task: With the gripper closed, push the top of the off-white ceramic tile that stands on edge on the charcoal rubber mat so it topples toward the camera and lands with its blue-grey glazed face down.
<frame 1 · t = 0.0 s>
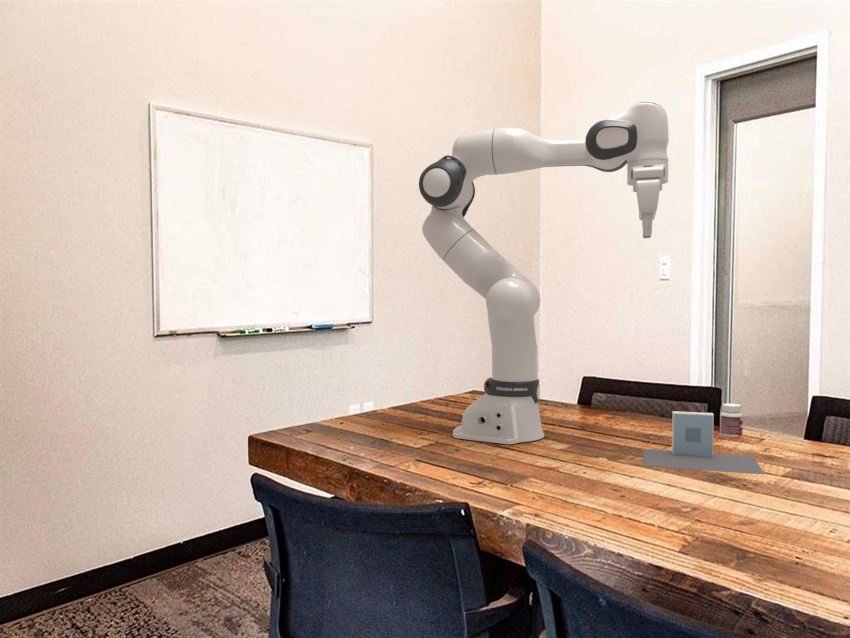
hand: (647, 236, 148), 48 cm above the table, fingers open, 8 cm apart
pill bottle: (731, 440, 154), on the table
mat: (699, 463, 134), on the table
tile: (692, 454, 138), point 1 cm above the table, touching mat
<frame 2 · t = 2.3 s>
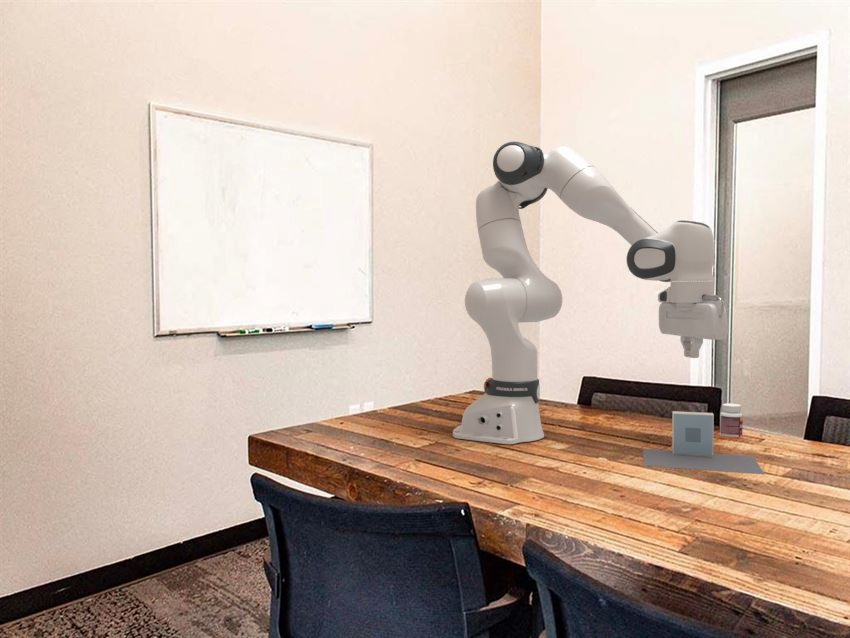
hand: (691, 357, 142), 21 cm above the table, fingers closed
nothing on the table moved.
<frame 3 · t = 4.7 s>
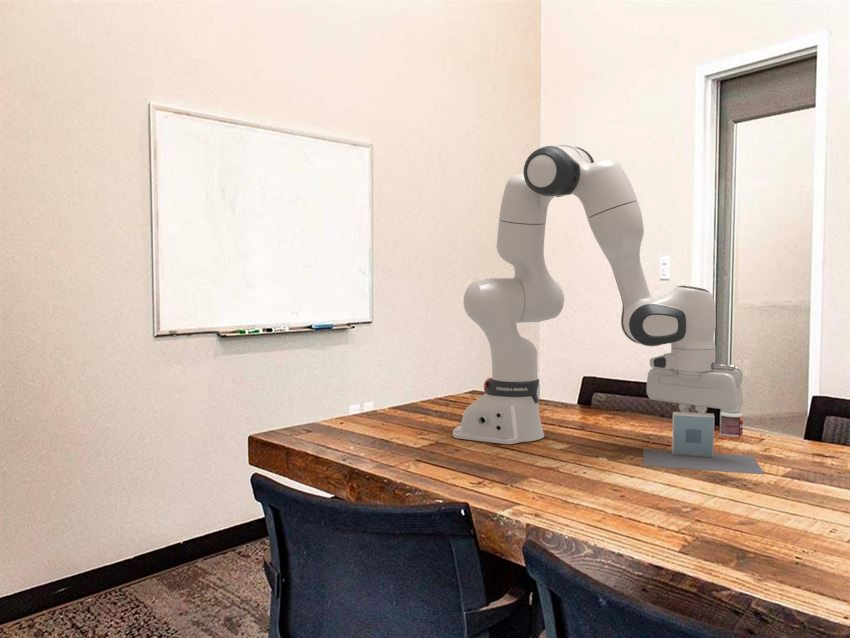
hand: (692, 425, 139), 7 cm above the table, fingers closed
tile: (692, 454, 138), point 1 cm above the table, tilted 9°, touching mat
everything else where it was.
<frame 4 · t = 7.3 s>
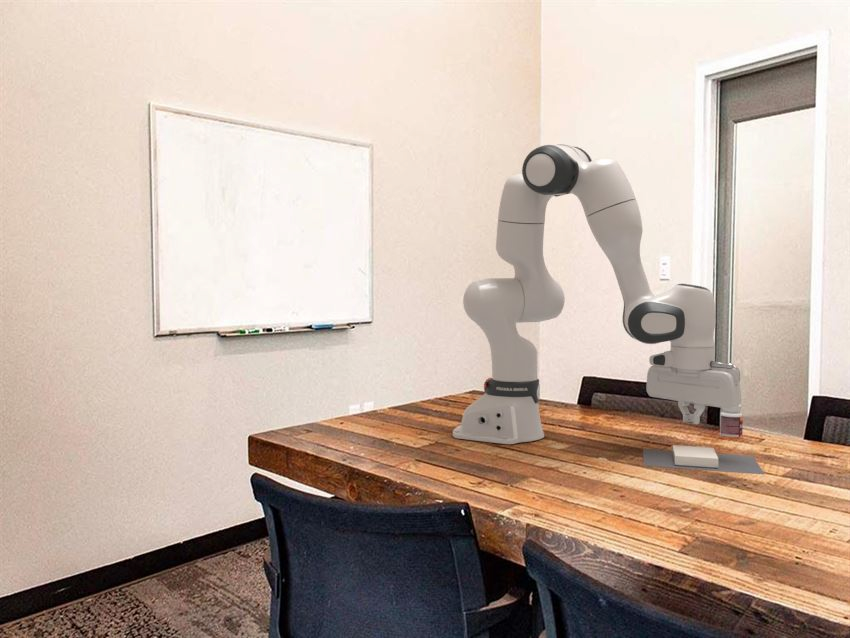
hand: (691, 423, 140), 7 cm above the table, fingers closed
tile: (692, 451, 137), point 2 cm above the table, tilted 90°, touching mat
everything else where it was.
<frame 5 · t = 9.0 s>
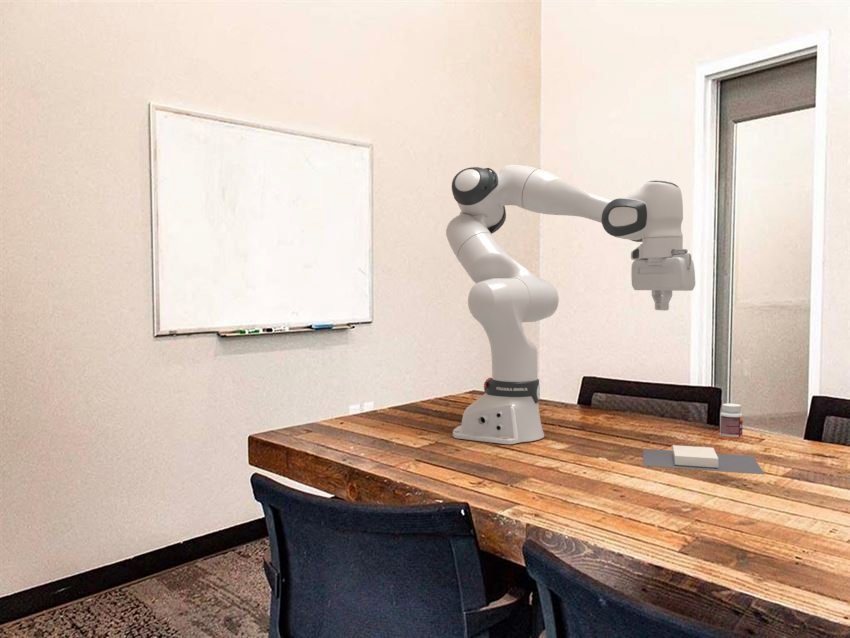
hand: (661, 310, 151), 31 cm above the table, fingers closed
nothing on the table moved.
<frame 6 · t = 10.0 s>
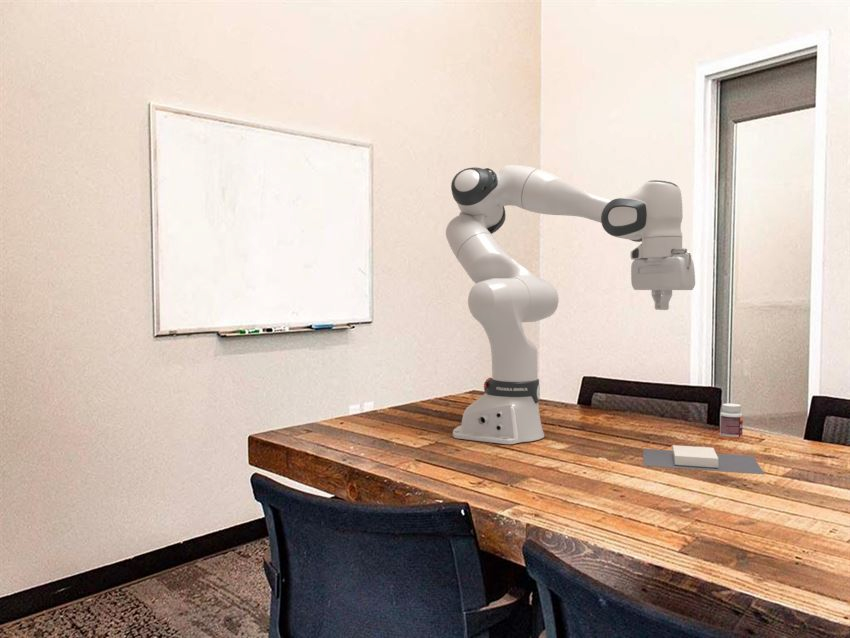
hand: (661, 309, 151), 31 cm above the table, fingers closed
nothing on the table moved.
at the end: tile tilted 90°; tile inside the target area on the mat (3.2 cm from its centre), point 1.6 cm above the mat's base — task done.
